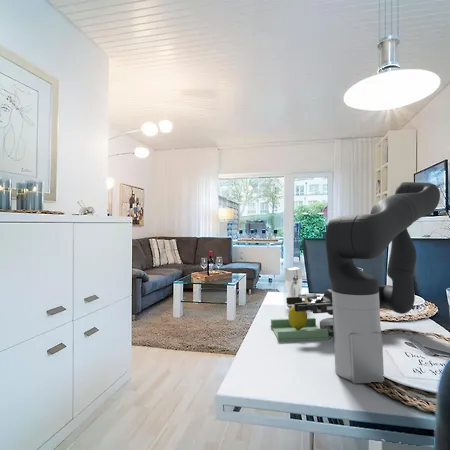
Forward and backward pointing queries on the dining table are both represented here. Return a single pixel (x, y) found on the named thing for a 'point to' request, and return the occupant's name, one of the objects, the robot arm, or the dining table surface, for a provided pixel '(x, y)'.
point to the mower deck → (327, 325)
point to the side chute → (298, 331)
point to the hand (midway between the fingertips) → (290, 304)
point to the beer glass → (293, 282)
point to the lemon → (297, 318)
